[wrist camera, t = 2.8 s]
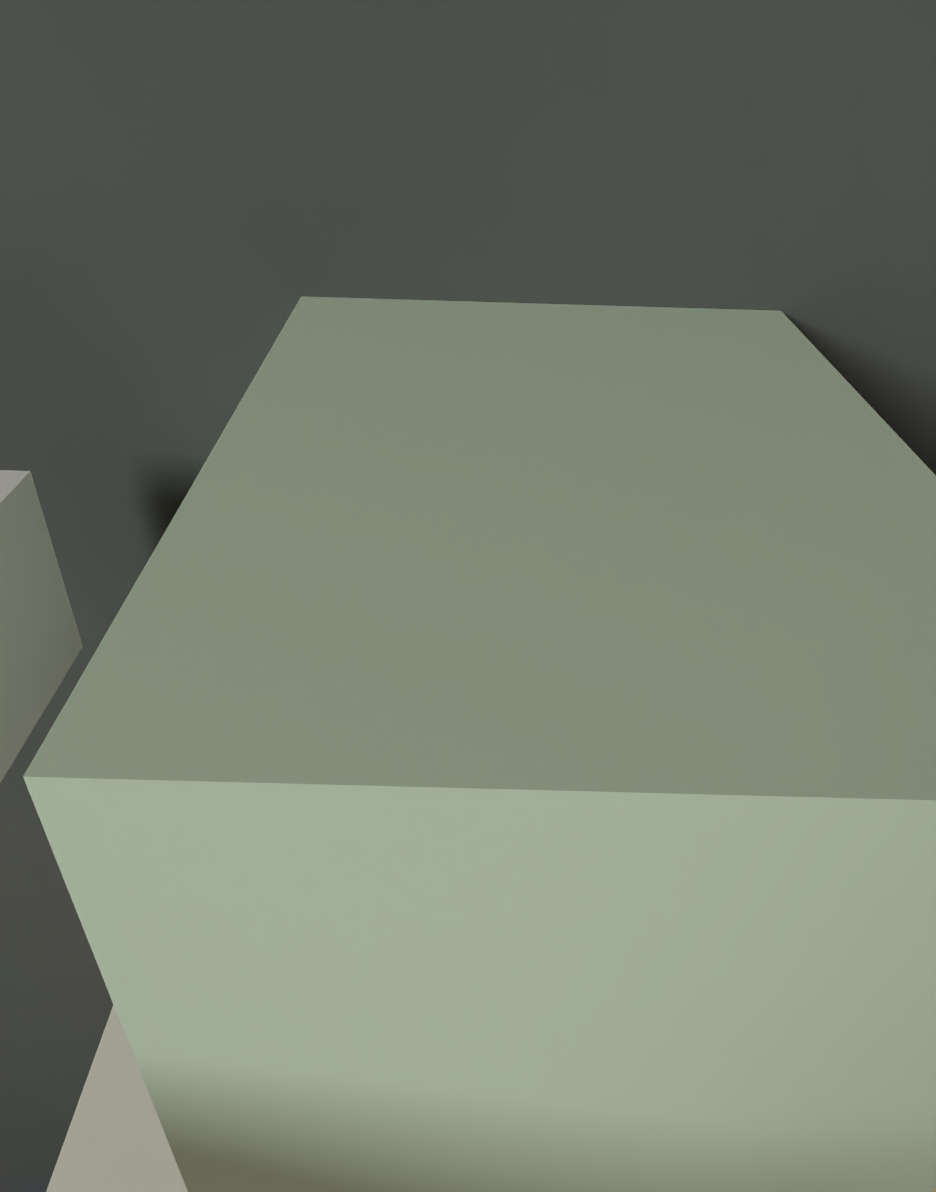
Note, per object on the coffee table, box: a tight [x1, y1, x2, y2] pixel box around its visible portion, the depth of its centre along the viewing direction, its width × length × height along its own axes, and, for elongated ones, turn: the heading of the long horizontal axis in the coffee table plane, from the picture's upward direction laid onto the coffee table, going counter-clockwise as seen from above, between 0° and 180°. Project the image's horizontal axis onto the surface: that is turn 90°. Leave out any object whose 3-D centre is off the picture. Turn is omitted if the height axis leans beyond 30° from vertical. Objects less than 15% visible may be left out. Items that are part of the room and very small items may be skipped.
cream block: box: [46, 1005, 188, 1192], centre depth 15 cm, size 7×6×8 cm
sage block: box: [23, 297, 936, 1192], centre depth 9 cm, size 6×6×8 cm
